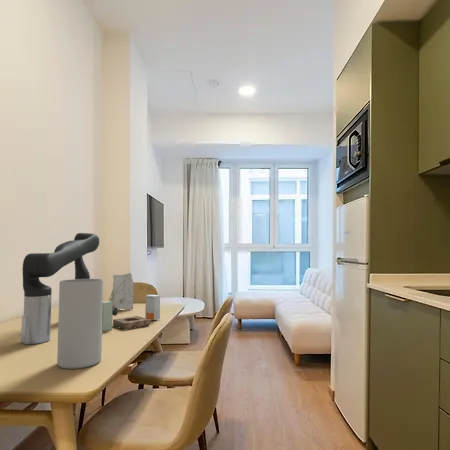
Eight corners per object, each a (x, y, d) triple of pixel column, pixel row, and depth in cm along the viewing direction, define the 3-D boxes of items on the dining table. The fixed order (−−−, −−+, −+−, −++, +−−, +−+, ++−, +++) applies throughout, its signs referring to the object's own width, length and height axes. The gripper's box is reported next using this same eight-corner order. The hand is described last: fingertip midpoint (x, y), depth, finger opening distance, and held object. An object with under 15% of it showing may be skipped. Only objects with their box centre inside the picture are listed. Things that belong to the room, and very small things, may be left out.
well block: (124, 330, 149) (125, 323, 149) (112, 325, 158) (113, 319, 158) (149, 325, 157) (149, 319, 157) (136, 321, 166) (136, 315, 166)
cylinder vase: (106, 356, 112) (108, 278, 114) (93, 369, 100) (95, 282, 102) (67, 356, 112) (69, 278, 114) (49, 370, 100) (52, 282, 101)
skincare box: (144, 320, 170) (145, 295, 171) (150, 318, 174) (150, 294, 175) (154, 321, 167) (154, 296, 168) (160, 319, 171) (160, 295, 172)
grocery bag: (110, 303, 225) (111, 267, 227) (132, 302, 229) (132, 267, 231) (108, 311, 195) (109, 270, 197) (134, 310, 199) (134, 269, 200)
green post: (102, 331, 147) (103, 302, 147) (99, 329, 150) (99, 301, 150) (112, 330, 149) (112, 301, 150) (108, 328, 152) (108, 300, 153)
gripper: (77, 302, 156) (91, 307, 144) (108, 299, 166) (124, 303, 153) (76, 319, 155) (91, 325, 143) (107, 315, 165) (123, 320, 153)
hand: (108, 314), depth 148 cm, fingers open, 6 cm apart
